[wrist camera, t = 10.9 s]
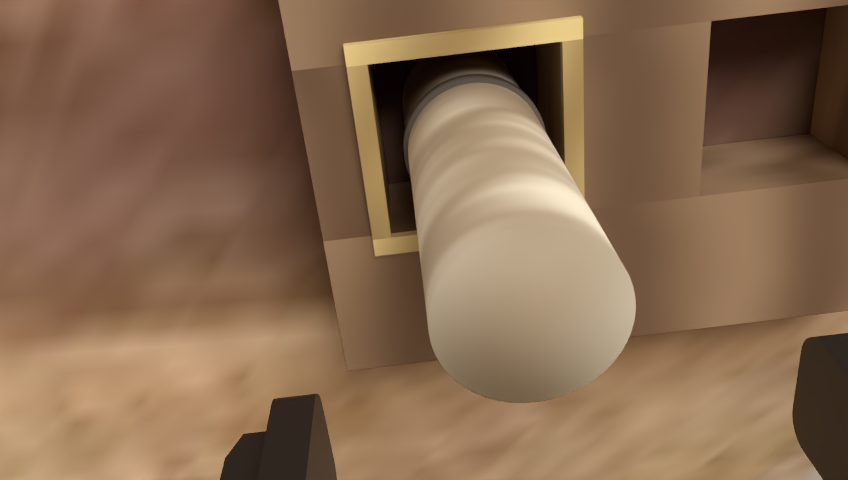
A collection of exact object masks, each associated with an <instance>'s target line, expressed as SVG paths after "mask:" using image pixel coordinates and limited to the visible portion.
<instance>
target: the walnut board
mask: <svg viewBox="0 0 848 480" xmlns="http://www.w3.org/2000/svg"><path fill="white" fill-rule="evenodd" d="M278 1H279V6H280V12H281V17H282V22H283V28H284V33H285V39H286V44H287V49H288V55H289V60H290V65H291V71H292V76H293V82H294V87H295V92H296V98H297V103H298V109H299V114H300V119H301V125H302V130H303V135H304V141H305V146H306V152H307V157H308V162H309V168H310V173H311V178H312V184H313V189H314V195H315V200H316V205H317V211H318V216H319V221H320V227H321V232H322V238H323V243H324V248H325V254H326V259H327V265H328V270H329V275H330V281H331V286H332V291H333V297H334V302H335V308H336V313H337V318H338V324H339V329H340V334H341V340H342V345H343V351H344V356H345V361H346V367H347V371H352V370H360V369H369V368H377V367H385V366H393V365H402V364H410V363H418V362H427V361H435V360H438V359H437V357H436V355H435V353H434V351H433V348H432V345H431V342H430V337H429V331H428V322H427V313H426V305H425V296H424V288H423V279H422V270H421V262H420V253H419V245H418V236H417V227H416V219H415V210H414V202H413V193H412V184H411V181H408V182H400V183H392V184H389V182H388V175H387V167H386V160H385V153H384V145H383V138H382V131H381V123H380V116H379V109H378V101H377V94H376V87H375V79H374V72H373V65H372V64H377V63H386V62H394V61H403V60H411V59H419V58H428V57H436V56H445V55H453V54H462V53H470V52H478V51H487V50H495V49H504V48H512V47H520V46H529V45H536V66H537V93H538V112H539V113H540V115H541V117H542V120H543V122H544V126H545V130H546V134H547V135H548V137H549V139H550V140H551V142H552V144H553V146H554V147H555V149H556V151H557V152H558V154H559V156H560V158H561V159H562V161H563V163H564V164H565V166H566V168H567V170H568V171H569V173H570V175H571V176H572V178H573V180H574V182H575V183H576V185H577V187H578V188H579V190H580V192H581V194H582V195H583V197H584V199H585V200H586V202H587V204H588V205H589V207H590V209H591V211H592V212H593V214H594V216H595V217H596V219H597V221H598V223H599V224H600V226H601V228H602V229H603V231H604V233H605V235H606V236H607V238H608V240H609V241H610V243H611V245H612V247H613V248H614V250H615V252H616V253H617V255H618V257H619V259H620V260H621V262H622V264H623V265H624V267H625V269H626V271H627V272H628V274H629V276H630V279H631V281H632V284H633V288H634V292H635V299H636V312H635V320H634V324H633V328H632V331H631V334H630V336H629V337H634V336H642V335H650V334H659V333H667V332H675V331H683V330H692V329H700V328H708V327H717V326H725V325H733V324H742V323H750V322H758V321H766V320H775V319H783V318H791V317H800V316H808V315H816V314H824V313H833V312H841V311H848V0H278ZM826 7H827V10H826V17H825V25H824V32H823V40H822V47H821V54H820V62H819V69H818V77H817V84H816V91H815V99H814V106H813V114H812V121H811V128H810V134H802V135H793V136H785V137H777V138H768V139H760V140H752V141H743V142H735V143H726V144H718V145H710V146H703V135H704V121H705V106H706V91H707V76H708V62H709V47H710V32H711V21H716V20H725V19H733V18H742V17H750V16H759V15H767V14H775V13H784V12H792V11H801V10H809V9H818V8H826Z"/></svg>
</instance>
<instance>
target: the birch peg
mask: <svg viewBox="0 0 848 480" xmlns="http://www.w3.org/2000/svg"><path fill="white" fill-rule="evenodd" d="M402 107H403V115H404V124H405V132H404V139H403V148H404V159H405V164H406V168H407V171H408V173H409V176H410V178H411V184H412V193H413V202H414V210H415V219H416V227H417V236H418V245H419V253H420V262H421V270H422V279H423V288H424V296H425V305H426V313H427V322H428V331H429V337H430V342H431V345H432V348H433V351H434V353H435V355H436V357H437V359H438V361H439V363H440V364H441V366H442V367H443V368H444V369H445V371H446V372H447V373H448V374H449V375H450V376H451V377H452V378H453V379H454V380H455V381H456V382H458V383H459V384H461V385H462V386H463V387H465V388H467V389H468V390H470V391H472V392H474V393H476V394H478V395H481V396H484V397H486V398H490V399H494V400H498V401H504V402H511V403H530V402H539V401H545V400H550V399H554V398H557V397H561V396H564V395H566V394H569V393H571V392H574V391H576V390H578V389H579V388H581V387H583V386H585V385H587V384H588V383H590V382H591V381H593V380H594V379H596V378H597V377H598V376H599V375H601V374H602V373H603V372H604V371H605V370H606V369H607V368H608V367H609V366H610V365H611V364H612V363H613V362H614V361H615V360H616V358H617V357H618V356H619V354H620V353H621V352H622V350H623V348H624V346H625V345H626V343H627V341H628V339H629V336H630V334H631V331H632V328H633V324H634V320H635V312H636V299H635V292H634V288H633V284H632V281H631V279H630V276H629V274H628V272H627V271H626V269H625V267H624V265H623V264H622V262H621V260H620V259H619V257H618V255H617V253H616V252H615V250H614V248H613V247H612V245H611V243H610V241H609V240H608V238H607V236H606V235H605V233H604V231H603V229H602V228H601V226H600V224H599V223H598V221H597V219H596V217H595V216H594V214H593V212H592V211H591V209H590V207H589V205H588V204H587V202H586V200H585V199H584V197H583V195H582V194H581V192H580V190H579V188H578V187H577V185H576V183H575V182H574V180H573V178H572V176H571V175H570V173H569V171H568V170H567V168H566V166H565V164H564V163H563V161H562V159H561V158H560V156H559V154H558V152H557V151H556V149H555V147H554V146H553V144H552V142H551V140H550V139H549V137H548V135H547V134H546V130H545V126H544V122H543V120H542V117H541V115H540V113H539V112H538V110H537V108H536V106H535V105H534V103H533V102H532V100H531V99H530V98H529V97H528V95H527V94H526V93H525V92H524V91H522V90H521V89H520V87H519V86H518V84H517V82H516V81H515V79H514V77H513V75H512V74H511V72H510V70H509V69H508V67H507V65H506V64H505V63H504V61H503V60H502V59H501V58H500V57H499V56H498V55H497V54H495V53H494V52H492V51H491V50H487V51H478V52H470V53H462V54H453V55H445V56H436V57H428V58H420V59H419V60H418V61H417V62H416V64H415V65H414V66H413V68H412V69H411V70H410V72H409V74H408V76H407V78H406V81H405V84H404V88H403V93H402Z"/></svg>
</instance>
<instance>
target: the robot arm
mask: <svg viewBox="0 0 848 480" xmlns="http://www.w3.org/2000/svg"><path fill="white" fill-rule="evenodd" d="M793 425H794V429H795V433H796V436H797V439H798V442H799V444H800V446H801V448H802V449H803V451H804V452H805V454H806V455H807V457H808V458H809V460H810V461H811V463H812V464H813V465H814V467H815V468H816V470H817V471H818V473H819V474H820V475H821V477H822V479H823V480H848V333H844V334H835V335H827V336H818V337H810V338H807V339H806V340H805V341H804V343H803V346H802V350H801V356H800V363H799V370H798V377H797V383H796V390H795V397H794V404H793ZM220 480H337V478H336V470H335V463H334V458H333V454H332V449H331V444H330V439H329V435H328V430H327V425H326V421H325V416H324V411H323V407H322V402H321V399H320V396H319V395H318V394H311V395H303V396H294V397H286V398H277V399H274V400H273V401H272V404H271V409H270V415H269V420H268V425H267V431H265V432H257V433H248V434H243V435H242V437H241V438H240V439H239V441H238V442H237V443H236V445H235V446H234V447H233V449H232V450H231V451H230V453H229V454H228V455H227V457H226V458H225V461H224V466H223V470H222V474H221V478H220Z"/></svg>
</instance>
